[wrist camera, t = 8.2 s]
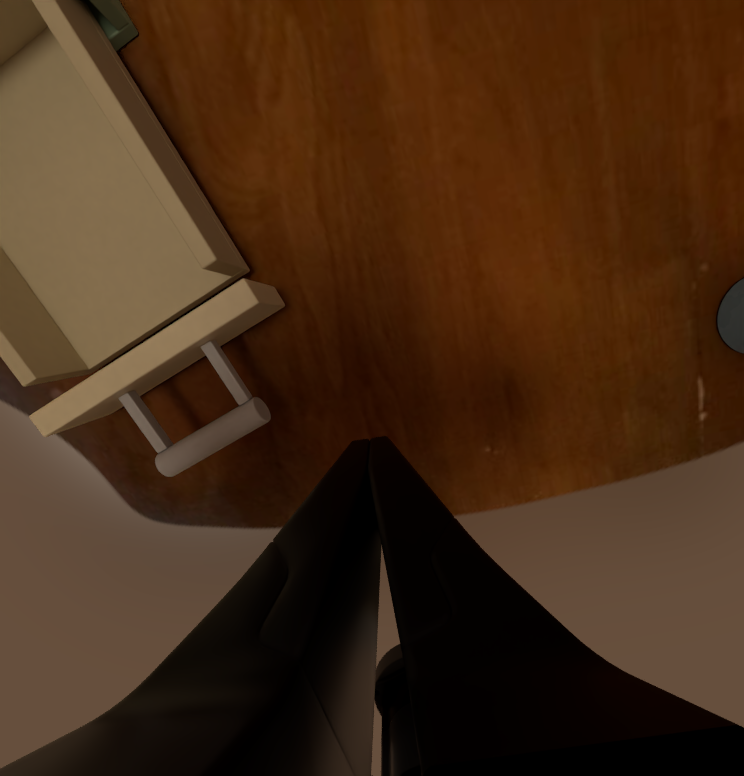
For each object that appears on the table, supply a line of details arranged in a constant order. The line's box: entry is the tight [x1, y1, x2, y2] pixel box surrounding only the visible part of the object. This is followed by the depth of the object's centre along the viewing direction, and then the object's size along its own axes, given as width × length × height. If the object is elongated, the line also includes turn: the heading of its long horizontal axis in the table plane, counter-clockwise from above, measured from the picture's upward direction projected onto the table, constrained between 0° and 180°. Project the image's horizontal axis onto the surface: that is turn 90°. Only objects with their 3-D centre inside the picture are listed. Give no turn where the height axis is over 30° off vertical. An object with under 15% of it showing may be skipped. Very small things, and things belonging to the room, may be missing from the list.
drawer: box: [0, 0, 285, 477], centre depth 17 cm, size 21×12×4 cm, turn 30°
